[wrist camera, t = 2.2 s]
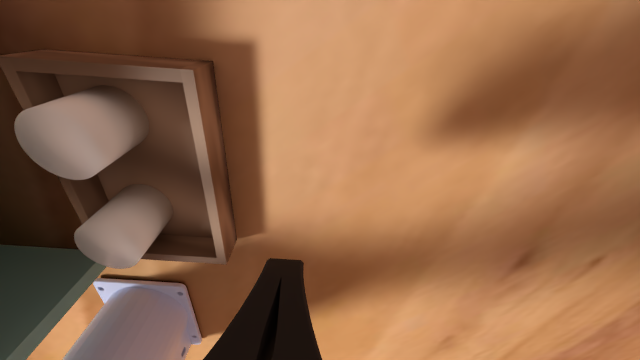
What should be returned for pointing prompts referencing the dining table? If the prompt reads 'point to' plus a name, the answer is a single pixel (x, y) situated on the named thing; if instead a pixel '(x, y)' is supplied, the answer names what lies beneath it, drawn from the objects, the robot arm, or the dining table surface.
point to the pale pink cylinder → (82, 131)
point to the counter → (38, 293)
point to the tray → (148, 142)
